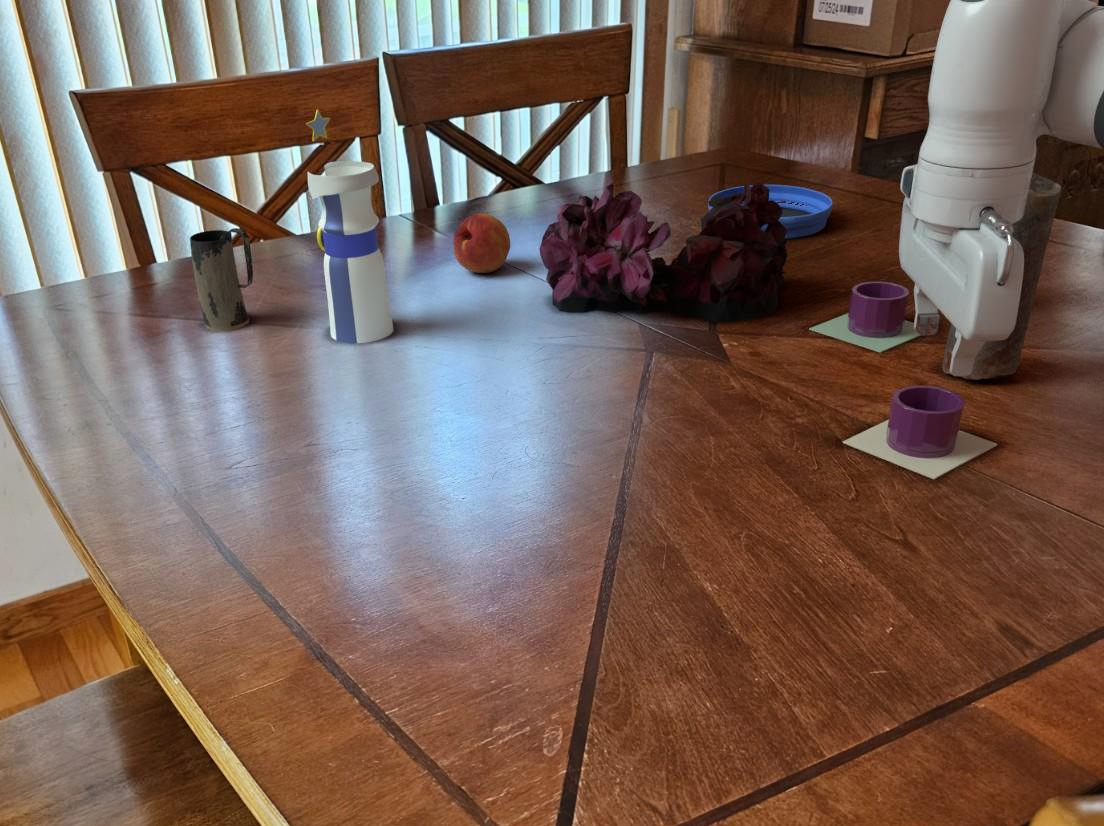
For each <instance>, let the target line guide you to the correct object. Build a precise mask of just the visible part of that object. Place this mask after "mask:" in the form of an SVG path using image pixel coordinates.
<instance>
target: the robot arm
mask: <svg viewBox="0 0 1104 826" xmlns="http://www.w3.org/2000/svg"><path fill="white" fill-rule="evenodd" d="M945 11H946V12H945V15H944V17H943V20H942V24H941V27H940V30H939V34H938V39H937V42H936V48H935V51H934V57H933V62H932V68H931V72H930V73H931V74H930V80H929V87H928V93H927V105H928V113H929V119H928V120H929V121H928V127H927V131H926V134H925V136H924V139H923V140H922V143H921V145H920V148H919V153H918V159H917V163H916V164H912V165H908V166H906V167H904V168H903V170H902V173H901V178H900V192H901V193H902V194H903V195H904V199H903V203H902V210H901V219H900V230H899V241H898V242H899V244H898V256H899V263H900V264H899V265H900V267H901V270H903V271H904V272H905V274H906V275H907V276H908V277H909V278H910V279H911V280H912V281H913V283H914V287H913V297H914V309H915V315H914V322H913V323H914V329H915V330H916V331H917V332H918V333H919V334H920V335H921V337H924V336H934V335H936V334H937V333H938V330H939V324H940V320H941V316H940V315H939V312H940V313H941V314H942V315H943V316H944V317H945V318H946V319H947V321H948V322H949V323H950V324H951V323H952V325H953V326H954V327H955V328H956V333H955V337H956V338H957V341H956V344H955V346H954V349H953V351H949V352H948V358H947V359H948V361H947V363H946V367H947V369H948V370H949V372H950V373H951V374H950V375H952V376H953V377H960V376H968V375H970V374H971V373H972V371H973V366H974V361H975V356H977V354H978V353H979V351H980V349H981V348H982V346H983V345H984V343H985V342H986V341H998V340H1005V339H1007V338H1008V337H1009V336H1010V334H1011V333H1012V331H1013V330H1014V327H1015V324H1016V319H1017V314H1018V307H1019V301H1020V295H1021V288H1022V280H1023V271H1024V253H1023V249H1022V247H1021V245H1020V243H1019V242H1018V241H1017V240H1015V239H1014V238H1013V235H1012V233H1013V226H1012V224H1013V223H1015V222H1017V221H1019V220H1020V219H1021V218H1022V217H1023V215H1024V210H1025V205H1026V200H1027V195H1028V191H1029V186H1030V181H1031V177H1032V173H1034V166H1035V161H1036V156H1037V139H1038V138H1039V137H1041V136H1043V135H1046V136H1050V137H1055V138H1057V139H1058V140H1061V141H1066V142H1071V143H1075V144H1078V145H1082V146H1087V147H1092V148H1096V149H1101V150H1104V5H1102V6H1101V5H1098V3H1097V2H1094V1H1092V0H950V1H949V3H948V5H947V8H946V10H945Z"/></svg>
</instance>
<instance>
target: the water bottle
mask: <svg viewBox="0 0 1104 826" xmlns="http://www.w3.org/2000/svg"><path fill="white" fill-rule="evenodd" d="M314 115H315V116H314V119H312V120H311V121H308V122H306V123H305V124H306V126H307V127H309V128H310V129H311V130H312V140H311V141H312V142H314V141H315V140H317V139H318V138H320V137H322V138H324V139H328V134H327V130H326V126H327V125H328V124H329V122H330V121H331V117H323V116H322V115H321V113H320V111H319V109H316V112H315V114H314ZM323 168H324V175H321V174H320V175H318V174H313V173H310V172H309V171H307V186H308V191H309V194H310V196H311V199H312V200H315V199H316V198H319V200H320V202H321V217H320V219H319V221H318V228H317V233H316V240H317V241H316V242H317V244H318V247H319V248H320V250H321V251H323V252H324V257H323V272H324V279H325V289H326V297H327V298H326V299H327V307H328V317H329V330H330V337H331V338H332V339H333V340H334V341H336V342H339V343H344V344H367V343H373V342H377V341H381V340H383V339H385V338H387V337H389V336H391V335H392V334H393V332H394V324H393V317H392V312H391V305H390V300H389V299H390V298H389V293H388V291H389V290H388V283H387V276H386V268H385V262H384V261H385V260H384V257H383V254H382V252H381V250H380V248H379V242H378V241H379V240H378V231H377V225H378V224H379V223H380V218H379V217H378V216H377V214H376V212H375V211H374V208H373V204H372V187H373V186H374V185H376V184H378V183H379V181H380V177H379V174H378V172H377V170H376V167H375V165H374V164H373V163H371V162H367V161H359V160H358V161H354V160H341V161H340V160H339V161H330V162H327V163H326V164H325V165H323Z"/></svg>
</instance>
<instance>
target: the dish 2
mask: <svg viewBox="0 0 1104 826" xmlns="http://www.w3.org/2000/svg"><path fill="white" fill-rule="evenodd" d="M965 406H966V402H965V399H964V398H963V396H962V395H960V394H958V393H956V391H953V390H950V389H948V388H944V387H941V386H940V387H939V386H933V385H911V386H904V387H902V388H900V389H898V390H897V389H896V391H894V393H893V395H892V398H891V404H890V410H889V416H888V420H889V421H888V427H887V433H886V434H887V436H886V443H887V444H888V446H889V447H890V448H892V449H893V450H895V451H897V452H899V453H901V454H904V455H908V456H912V457H918V458H937V457H942V456H946V455H948V454H950V453H952V452H953V451H954V449H955V446H956V442H957V439H958V434H959V430H960V429H961V424H962V420H963V414H964V410H965Z"/></svg>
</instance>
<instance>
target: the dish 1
mask: <svg viewBox="0 0 1104 826" xmlns="http://www.w3.org/2000/svg"><path fill="white" fill-rule="evenodd" d="M909 297H910V291H909V289H908V288H907V287H905V286H903V285H902V284H898V283H894V282H887V281H866V282H859V283H858V284H855V285H854V286H853V287H852V288H851V291H850V298H849V306H848V312H847V313H848V320H847V321H848V324H847V328H848V330H849V331H850V332H852V333H854V334H857V335H860V336H864V337H870V338H887V337H893V336H896V335H899V334H900V333H901V332H902V331H903V326H904V322H905V320H906V316H907V315H906V314H907V311H908V303H909V299H910V298H909Z"/></svg>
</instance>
